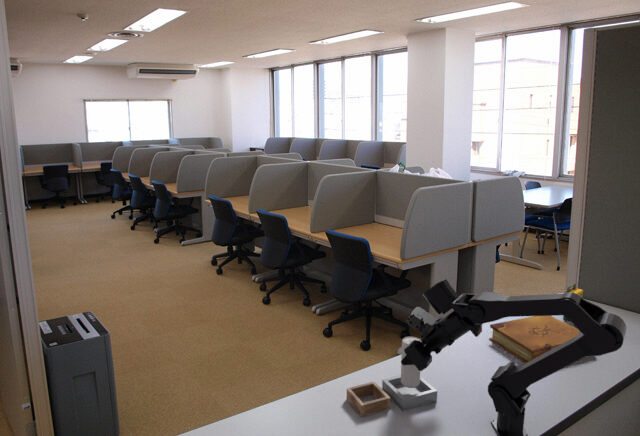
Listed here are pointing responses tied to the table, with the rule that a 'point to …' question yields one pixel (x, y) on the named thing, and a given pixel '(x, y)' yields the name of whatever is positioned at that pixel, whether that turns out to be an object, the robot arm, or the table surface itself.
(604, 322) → the robot arm
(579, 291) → the crayon box
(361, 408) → the wooden frame
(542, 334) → the diary
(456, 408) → the table surface
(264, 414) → the table surface
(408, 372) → the beverage can
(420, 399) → the tray
